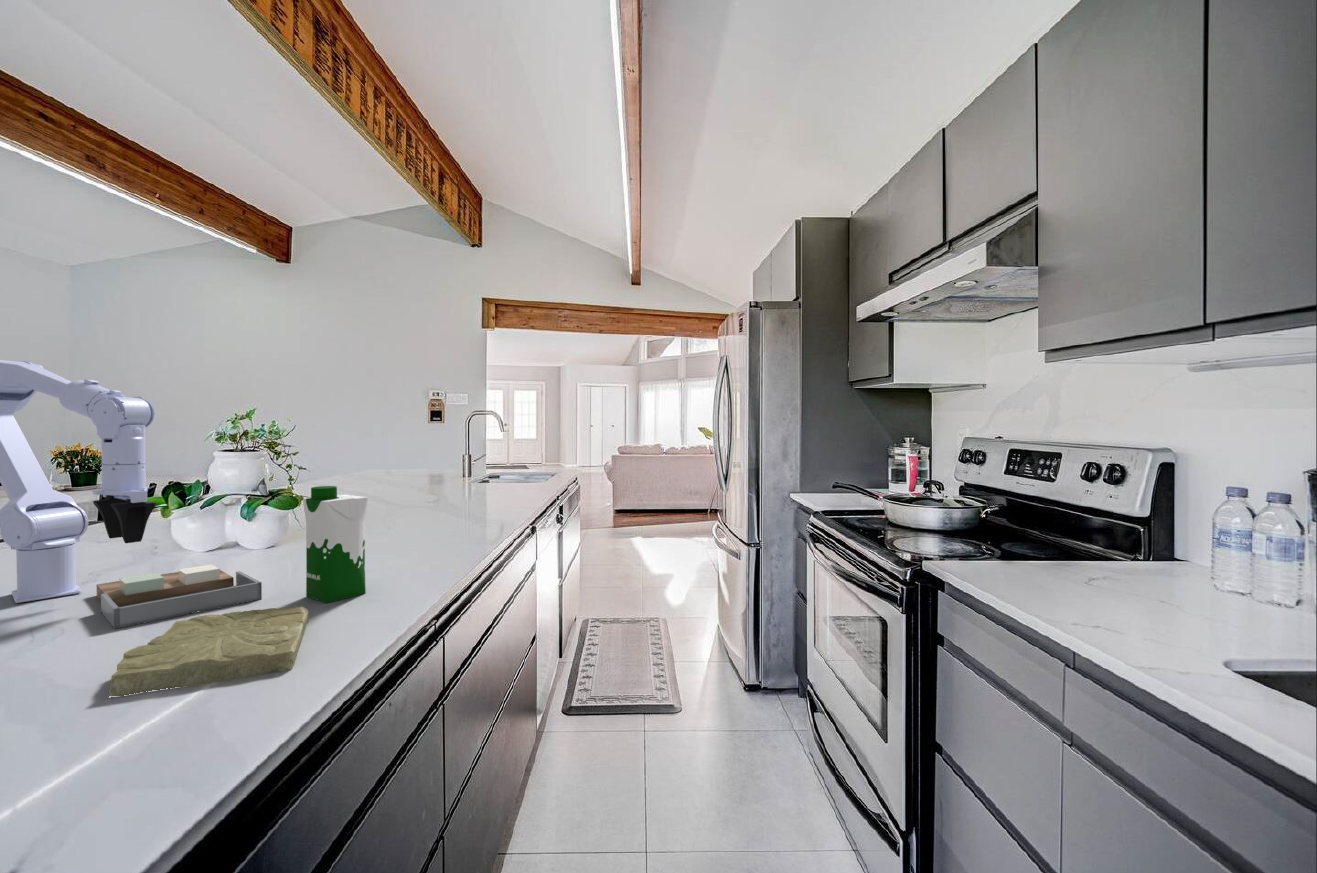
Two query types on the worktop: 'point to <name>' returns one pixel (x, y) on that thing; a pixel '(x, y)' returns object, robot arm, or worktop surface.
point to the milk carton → (334, 544)
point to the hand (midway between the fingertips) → (125, 539)
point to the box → (181, 603)
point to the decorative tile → (213, 650)
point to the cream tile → (199, 574)
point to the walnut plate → (170, 589)
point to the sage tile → (141, 583)
